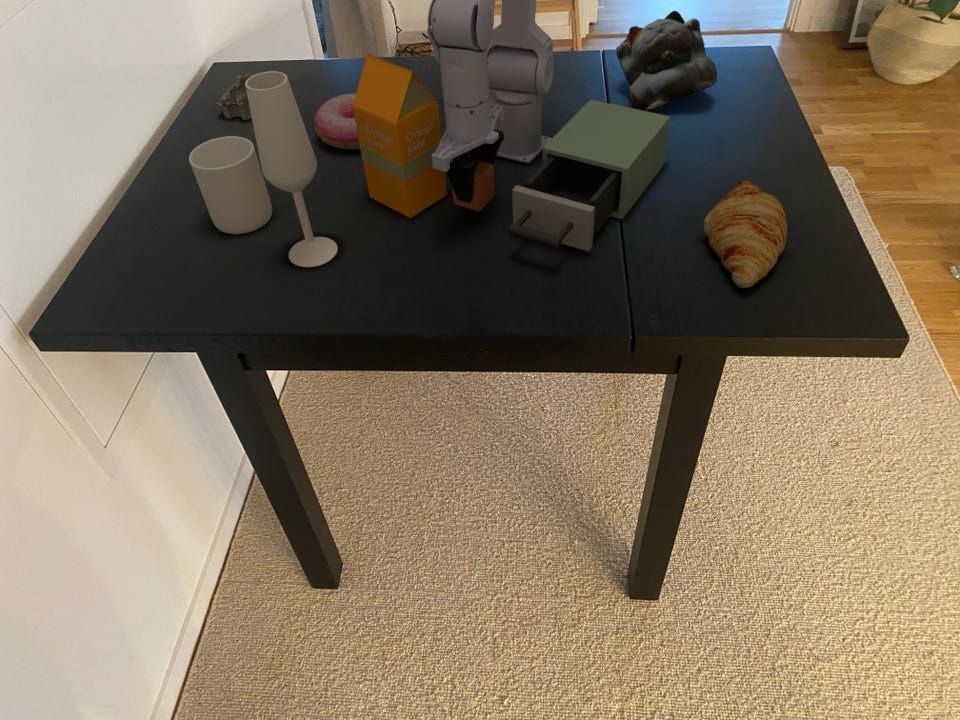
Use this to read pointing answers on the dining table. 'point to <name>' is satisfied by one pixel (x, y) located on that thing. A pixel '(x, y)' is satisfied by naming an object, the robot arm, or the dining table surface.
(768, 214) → the croissant
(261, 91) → the champagne flute
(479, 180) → the rust orange cube
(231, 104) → the grey rough lump
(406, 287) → the dining table surface
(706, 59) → the lucky cat figurine
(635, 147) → the green drawer box
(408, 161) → the orange juice
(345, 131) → the donut
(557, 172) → the cream drawer
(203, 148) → the mug
